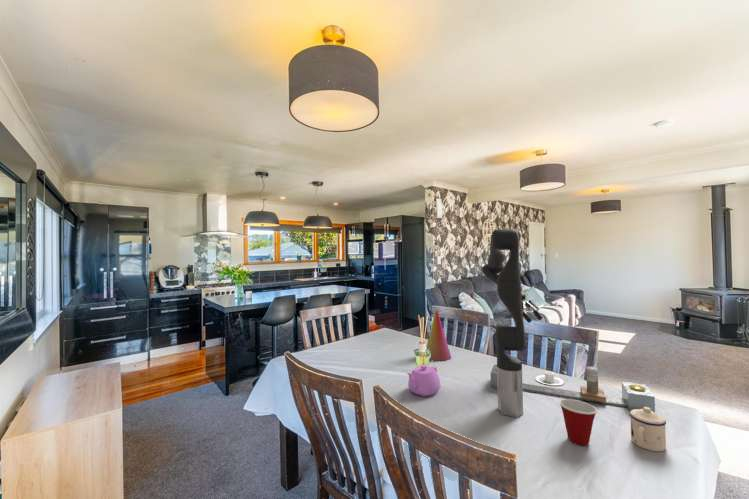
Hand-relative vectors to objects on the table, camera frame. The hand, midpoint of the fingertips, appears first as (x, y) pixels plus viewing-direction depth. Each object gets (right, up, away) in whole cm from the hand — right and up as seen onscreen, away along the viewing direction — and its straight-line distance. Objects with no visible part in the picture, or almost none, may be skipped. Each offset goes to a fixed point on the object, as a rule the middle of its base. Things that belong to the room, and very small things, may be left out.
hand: (536, 320), depth 151 cm
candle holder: (+10, -31, +6) cm, 33 cm away
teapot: (-53, -32, -3) cm, 62 cm away
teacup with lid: (+13, -30, -46) cm, 57 cm away
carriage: (+17, -29, -14) cm, 36 cm away
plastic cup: (-7, -31, -43) cm, 53 cm away
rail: (+8, -30, -9) cm, 33 cm away
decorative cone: (-37, -32, +45) cm, 66 cm away
